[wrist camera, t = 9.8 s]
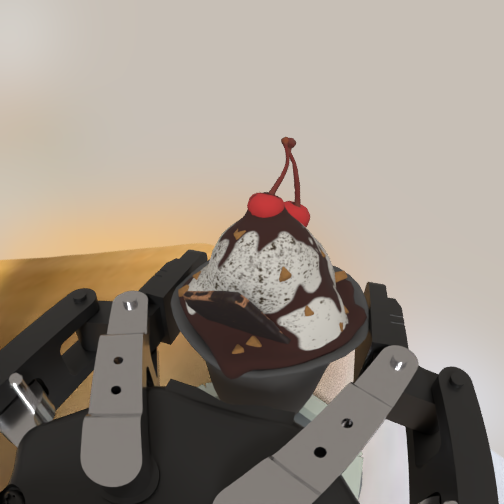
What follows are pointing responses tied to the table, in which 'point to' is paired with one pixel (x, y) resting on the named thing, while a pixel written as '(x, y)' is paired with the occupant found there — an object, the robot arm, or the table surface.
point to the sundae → (270, 305)
